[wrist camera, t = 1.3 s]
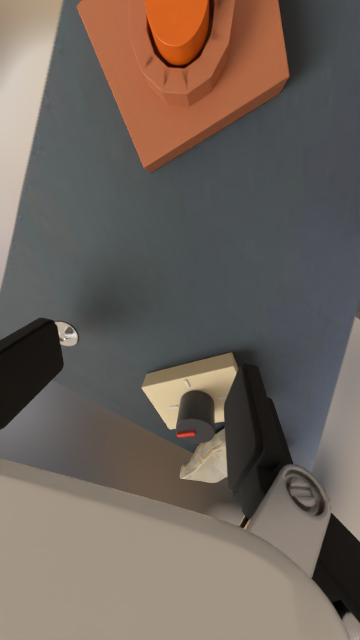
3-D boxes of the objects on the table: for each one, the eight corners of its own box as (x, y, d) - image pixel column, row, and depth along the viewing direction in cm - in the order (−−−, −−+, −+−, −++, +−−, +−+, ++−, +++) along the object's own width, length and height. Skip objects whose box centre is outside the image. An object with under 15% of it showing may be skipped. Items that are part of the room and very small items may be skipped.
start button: (196, -45, 11) (194, -86, 10) (217, 41, 13) (218, 17, 11) (142, 5, 12) (133, -25, 11) (167, 79, 14) (161, 62, 12)
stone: (188, 476, 43) (185, 504, 38) (158, 437, 40) (151, 462, 35) (285, 452, 36) (296, 482, 32) (257, 405, 34) (264, 430, 29)
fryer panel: (231, 351, 28) (234, 366, 25) (250, 400, 31) (254, 418, 28) (146, 373, 32) (140, 388, 29) (172, 413, 36) (169, 430, 33)
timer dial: (207, 387, 27) (206, 418, 23) (219, 411, 29) (220, 443, 25) (175, 393, 29) (168, 424, 24) (188, 416, 31) (184, 447, 26)
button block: (245, -117, 12) (259, -258, 8) (280, 93, 16) (300, 57, 12) (92, 32, 15) (58, -23, 12) (150, 173, 19) (137, 163, 16)
